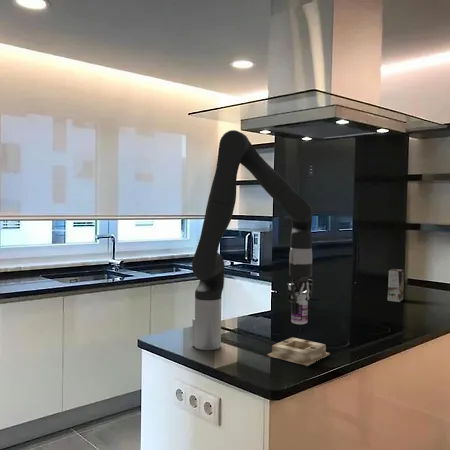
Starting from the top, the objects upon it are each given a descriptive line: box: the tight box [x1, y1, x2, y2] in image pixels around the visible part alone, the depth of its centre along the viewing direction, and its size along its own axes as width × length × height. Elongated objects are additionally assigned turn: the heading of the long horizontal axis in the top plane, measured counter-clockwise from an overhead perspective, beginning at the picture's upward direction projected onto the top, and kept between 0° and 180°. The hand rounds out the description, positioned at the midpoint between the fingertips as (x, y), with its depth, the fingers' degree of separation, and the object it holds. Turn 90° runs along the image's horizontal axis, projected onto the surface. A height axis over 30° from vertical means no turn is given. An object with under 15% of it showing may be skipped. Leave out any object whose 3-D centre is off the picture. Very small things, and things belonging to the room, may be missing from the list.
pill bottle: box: [290, 293, 309, 325], centre depth 163 cm, size 5×5×10 cm
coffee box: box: [387, 268, 405, 303], centre depth 260 cm, size 9×6×16 cm
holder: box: [267, 336, 331, 367], centre depth 164 cm, size 15×15×4 cm
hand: (299, 312), depth 163 cm, fingers closed on pill bottle, 5 cm apart
